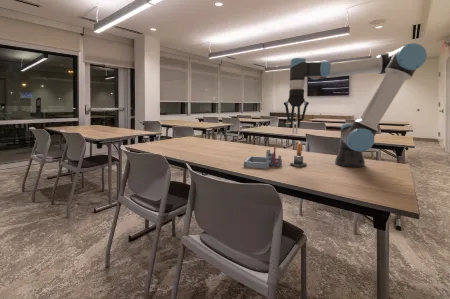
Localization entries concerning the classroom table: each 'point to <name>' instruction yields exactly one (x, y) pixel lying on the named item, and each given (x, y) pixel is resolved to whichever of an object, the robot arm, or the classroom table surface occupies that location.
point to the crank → (298, 155)
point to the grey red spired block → (273, 159)
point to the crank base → (298, 164)
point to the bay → (256, 162)
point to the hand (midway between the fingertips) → (294, 133)
